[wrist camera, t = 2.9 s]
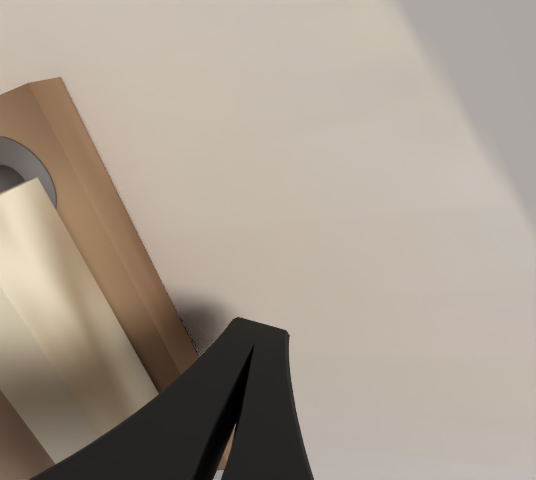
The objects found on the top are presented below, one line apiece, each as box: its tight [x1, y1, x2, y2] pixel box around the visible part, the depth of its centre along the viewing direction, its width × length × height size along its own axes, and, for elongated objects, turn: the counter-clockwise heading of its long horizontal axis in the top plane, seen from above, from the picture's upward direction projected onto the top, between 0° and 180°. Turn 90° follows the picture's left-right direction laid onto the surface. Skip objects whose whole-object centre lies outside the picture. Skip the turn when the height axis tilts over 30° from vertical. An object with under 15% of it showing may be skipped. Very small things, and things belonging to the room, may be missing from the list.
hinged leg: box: [0, 164, 159, 464], centre depth 11 cm, size 9×2×3 cm, turn 19°
